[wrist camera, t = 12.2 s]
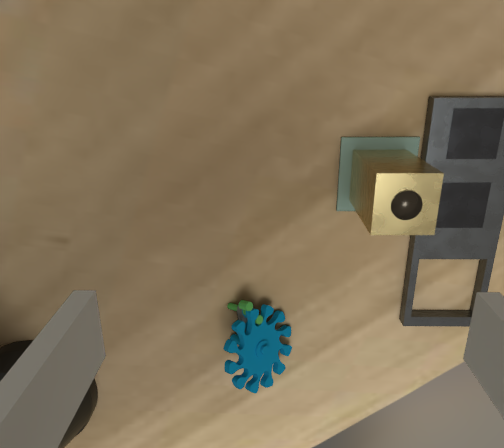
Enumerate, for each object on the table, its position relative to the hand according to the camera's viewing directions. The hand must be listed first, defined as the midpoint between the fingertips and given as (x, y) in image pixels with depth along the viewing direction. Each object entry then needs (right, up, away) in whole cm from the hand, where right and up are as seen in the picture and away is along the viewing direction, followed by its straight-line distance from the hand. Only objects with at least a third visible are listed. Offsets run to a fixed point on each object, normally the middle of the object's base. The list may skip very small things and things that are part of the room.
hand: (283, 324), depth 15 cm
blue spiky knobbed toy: (0, -9, +39) cm, 40 cm away
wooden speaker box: (+12, +9, +31) cm, 34 cm away
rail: (+21, +4, +33) cm, 39 cm away
